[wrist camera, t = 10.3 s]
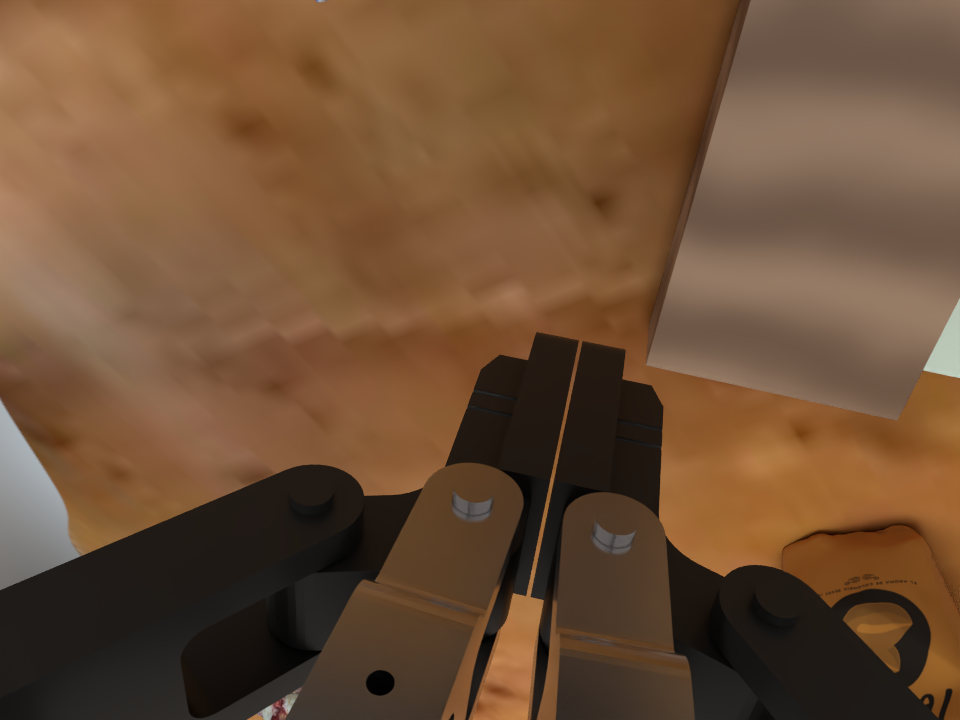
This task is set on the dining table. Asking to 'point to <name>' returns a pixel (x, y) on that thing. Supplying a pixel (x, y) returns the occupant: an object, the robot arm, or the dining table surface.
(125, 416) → the dining table surface
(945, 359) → the mat
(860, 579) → the coffee package
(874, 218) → the deck
